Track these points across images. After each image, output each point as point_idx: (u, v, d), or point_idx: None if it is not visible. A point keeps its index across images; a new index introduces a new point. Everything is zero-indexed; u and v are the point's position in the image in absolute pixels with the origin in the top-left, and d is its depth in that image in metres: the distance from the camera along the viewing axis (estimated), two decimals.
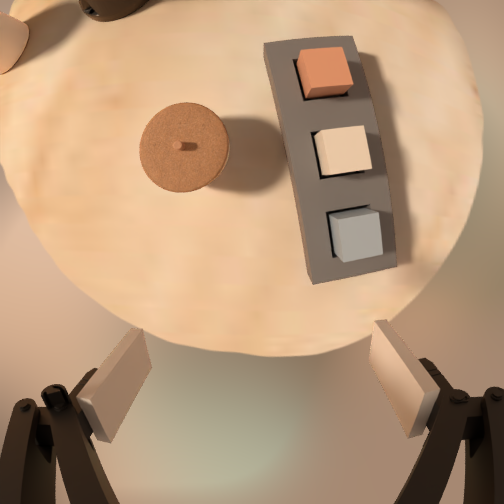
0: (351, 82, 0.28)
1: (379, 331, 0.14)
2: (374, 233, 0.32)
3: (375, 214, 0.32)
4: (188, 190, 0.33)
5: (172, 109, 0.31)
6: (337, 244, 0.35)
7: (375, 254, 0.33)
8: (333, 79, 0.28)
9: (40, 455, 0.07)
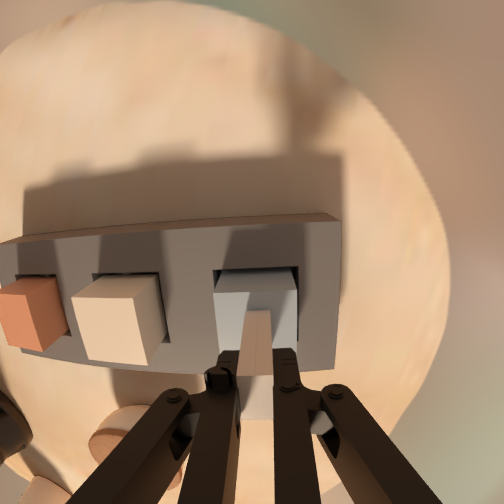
0: (24, 297, 0.18)
1: (257, 320, 0.17)
2: (251, 304, 0.18)
3: (216, 300, 0.18)
4: (178, 474, 0.24)
5: (97, 459, 0.24)
6: None
7: (294, 304, 0.18)
8: (27, 320, 0.18)
9: (168, 453, 0.09)
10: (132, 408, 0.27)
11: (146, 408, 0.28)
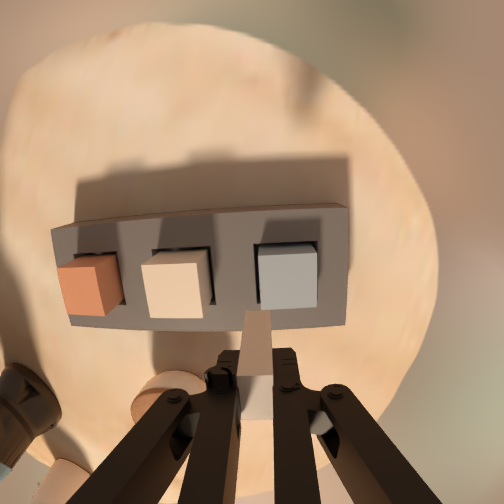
0: (92, 268, 0.25)
1: (257, 320, 0.17)
2: (285, 263, 0.26)
3: (260, 260, 0.26)
4: None
5: (137, 421, 0.31)
6: None
7: (315, 264, 0.25)
8: (92, 289, 0.26)
9: (169, 453, 0.09)
10: (172, 371, 0.35)
11: (184, 371, 0.35)
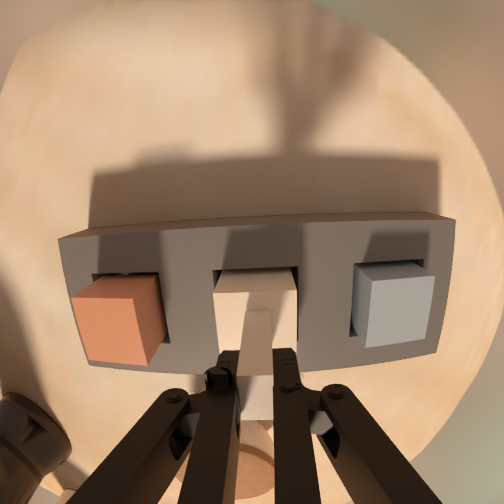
0: (129, 301, 0.17)
1: (257, 320, 0.17)
2: (401, 289, 0.18)
3: (373, 287, 0.18)
4: None
5: (179, 475, 0.23)
6: None
7: (431, 288, 0.18)
8: (128, 329, 0.18)
9: (169, 453, 0.09)
10: None
11: None
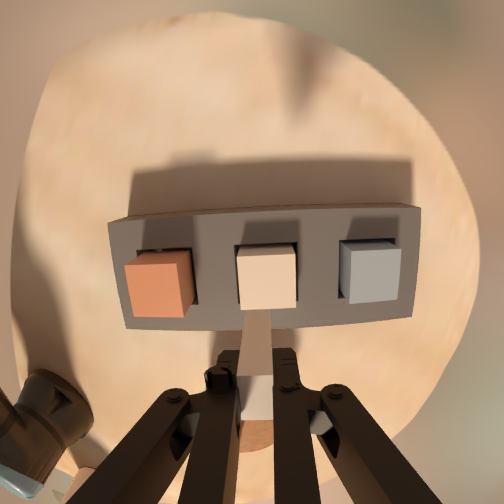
0: (173, 265, 0.25)
1: (257, 320, 0.17)
2: (374, 258, 0.25)
3: (352, 256, 0.25)
4: None
5: None
6: None
7: (399, 259, 0.25)
8: (171, 288, 0.25)
9: (169, 453, 0.09)
10: None
11: None
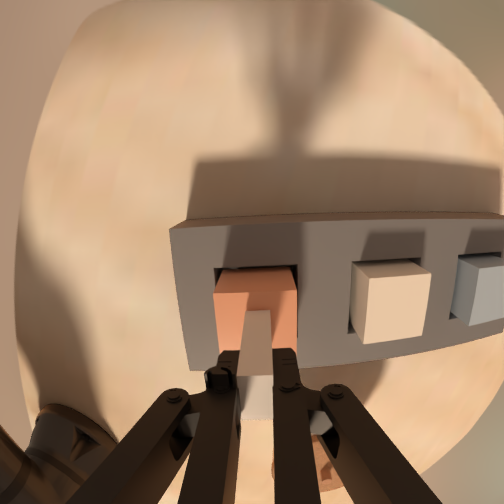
0: (293, 293, 0.18)
1: (257, 320, 0.17)
2: (495, 275, 0.18)
3: (479, 273, 0.18)
4: None
5: None
6: None
7: None
8: (284, 323, 0.18)
9: (169, 453, 0.09)
10: None
11: None
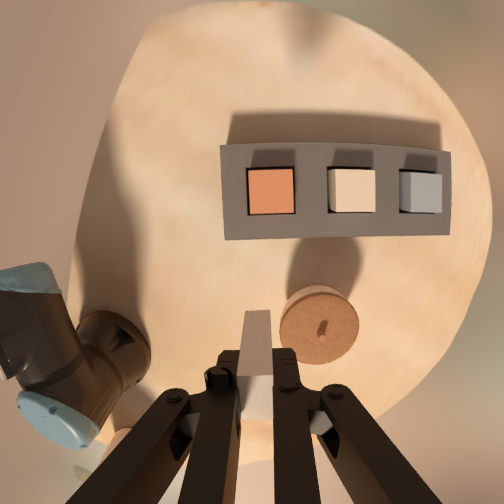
0: (290, 170, 0.33)
1: (257, 320, 0.17)
2: (425, 179, 0.32)
3: (411, 175, 0.32)
4: (357, 331, 0.37)
5: (284, 336, 0.38)
6: None
7: (441, 182, 0.32)
8: (286, 188, 0.34)
9: (169, 453, 0.09)
10: (314, 285, 0.41)
11: None
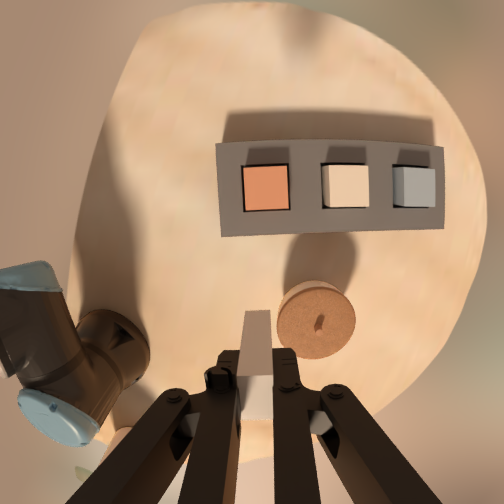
0: (284, 167, 0.34)
1: (257, 320, 0.17)
2: (418, 174, 0.33)
3: (404, 170, 0.33)
4: (354, 325, 0.38)
5: (282, 330, 0.38)
6: None
7: (434, 176, 0.33)
8: (281, 184, 0.34)
9: (169, 453, 0.09)
10: None
11: None
